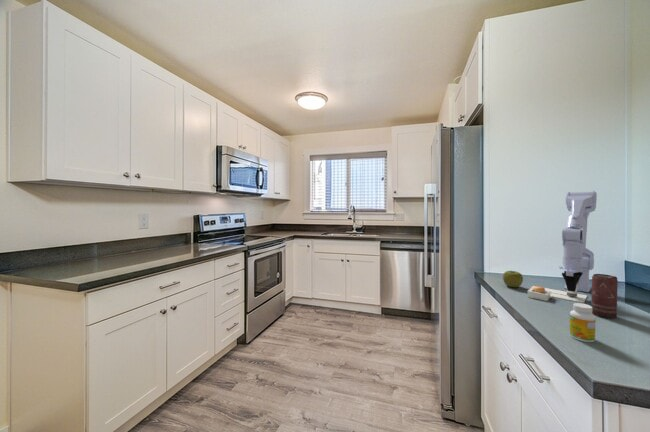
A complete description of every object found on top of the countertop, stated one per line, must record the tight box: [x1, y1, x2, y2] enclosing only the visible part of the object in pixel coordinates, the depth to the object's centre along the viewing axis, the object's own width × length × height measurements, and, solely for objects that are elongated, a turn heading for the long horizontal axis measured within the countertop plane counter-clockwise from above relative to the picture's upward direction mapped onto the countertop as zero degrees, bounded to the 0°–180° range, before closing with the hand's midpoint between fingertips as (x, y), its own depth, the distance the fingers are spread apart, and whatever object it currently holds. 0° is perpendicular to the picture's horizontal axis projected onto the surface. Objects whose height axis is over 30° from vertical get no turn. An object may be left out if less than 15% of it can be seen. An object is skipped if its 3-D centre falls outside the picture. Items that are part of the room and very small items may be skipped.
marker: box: [566, 282, 578, 297], centre depth 109 cm, size 3×3×8 cm
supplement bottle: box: [569, 302, 597, 343], centre depth 77 cm, size 5×5×10 cm
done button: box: [533, 285, 546, 294], centre depth 110 cm, size 4×4×2 cm
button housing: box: [527, 287, 552, 302], centre depth 110 cm, size 6×6×2 cm
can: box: [590, 273, 619, 320], centre depth 91 cm, size 6×6×14 cm
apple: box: [502, 270, 524, 288], centre depth 124 cm, size 8×8×7 cm
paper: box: [526, 285, 588, 304], centre depth 113 cm, size 11×18×1 cm, turn 40°
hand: (571, 290), depth 109 cm, fingers closed on marker, 3 cm apart
